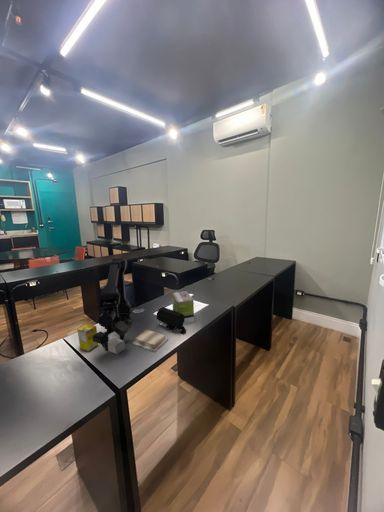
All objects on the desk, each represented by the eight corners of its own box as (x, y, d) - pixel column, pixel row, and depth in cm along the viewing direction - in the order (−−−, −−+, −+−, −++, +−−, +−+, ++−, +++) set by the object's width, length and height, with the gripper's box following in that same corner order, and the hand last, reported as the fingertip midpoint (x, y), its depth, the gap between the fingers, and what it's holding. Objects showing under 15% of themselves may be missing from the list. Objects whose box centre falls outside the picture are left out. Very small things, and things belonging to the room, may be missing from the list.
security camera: (180, 336, 112) (180, 319, 110) (156, 326, 123) (155, 310, 121) (189, 330, 118) (188, 314, 116) (164, 321, 128) (164, 305, 126)
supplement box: (98, 345, 106) (96, 325, 103) (88, 352, 100) (85, 331, 98) (90, 342, 108) (87, 323, 106) (79, 349, 103) (77, 328, 101)
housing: (105, 349, 103) (104, 341, 102) (113, 343, 107) (112, 336, 106) (117, 354, 99) (116, 346, 98) (125, 348, 103) (124, 340, 103)
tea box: (172, 314, 138) (171, 292, 135) (187, 311, 140) (186, 290, 137) (178, 325, 123) (177, 301, 120) (194, 322, 126) (194, 299, 123)
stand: (132, 344, 106) (132, 338, 106) (146, 333, 116) (146, 328, 115) (155, 352, 100) (154, 346, 99) (168, 340, 109) (168, 334, 109)
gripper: (107, 329, 88) (111, 363, 91) (138, 311, 104) (140, 340, 107) (89, 323, 93) (93, 355, 96) (122, 306, 109) (124, 334, 112)
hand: (114, 345), depth 103 cm, fingers open, 9 cm apart
